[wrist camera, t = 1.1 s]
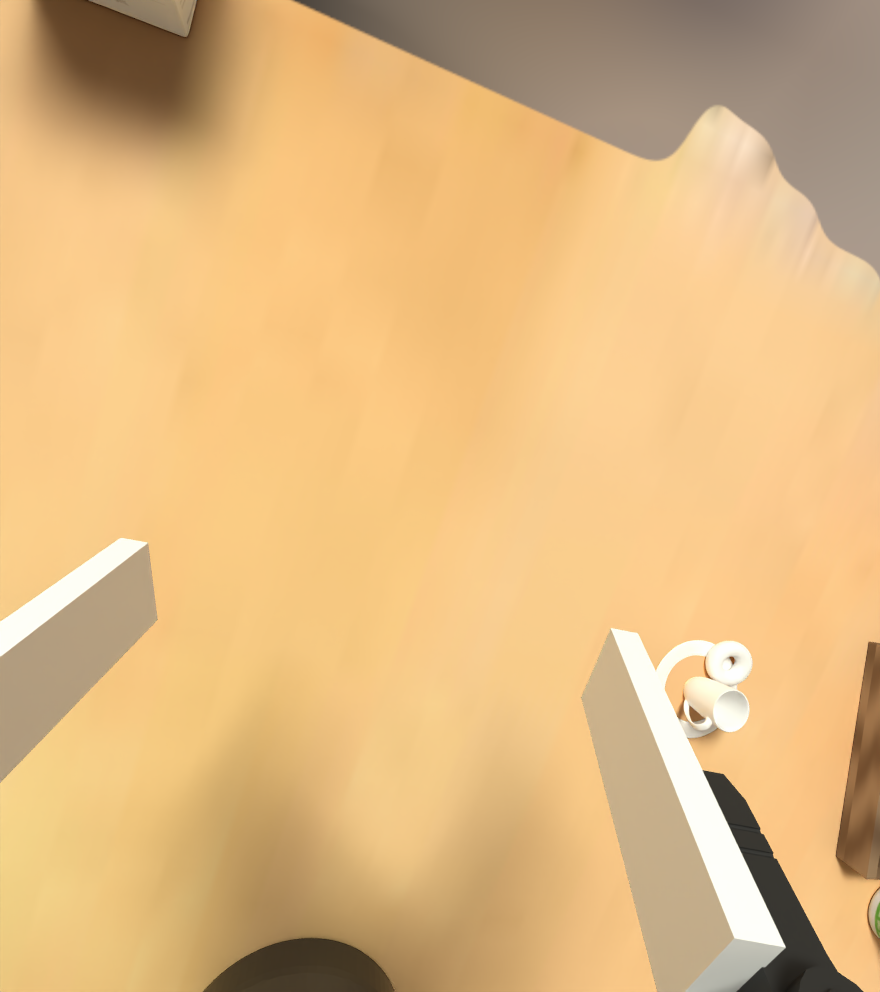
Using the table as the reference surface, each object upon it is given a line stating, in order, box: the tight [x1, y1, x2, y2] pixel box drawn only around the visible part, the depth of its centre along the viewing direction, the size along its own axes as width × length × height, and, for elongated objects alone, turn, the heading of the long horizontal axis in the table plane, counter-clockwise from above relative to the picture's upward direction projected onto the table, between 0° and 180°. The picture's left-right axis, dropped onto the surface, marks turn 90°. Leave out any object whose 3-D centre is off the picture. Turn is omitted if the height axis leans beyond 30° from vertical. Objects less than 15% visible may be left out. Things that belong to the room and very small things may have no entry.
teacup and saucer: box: [656, 640, 752, 738], centre depth 35 cm, size 9×8×4 cm
